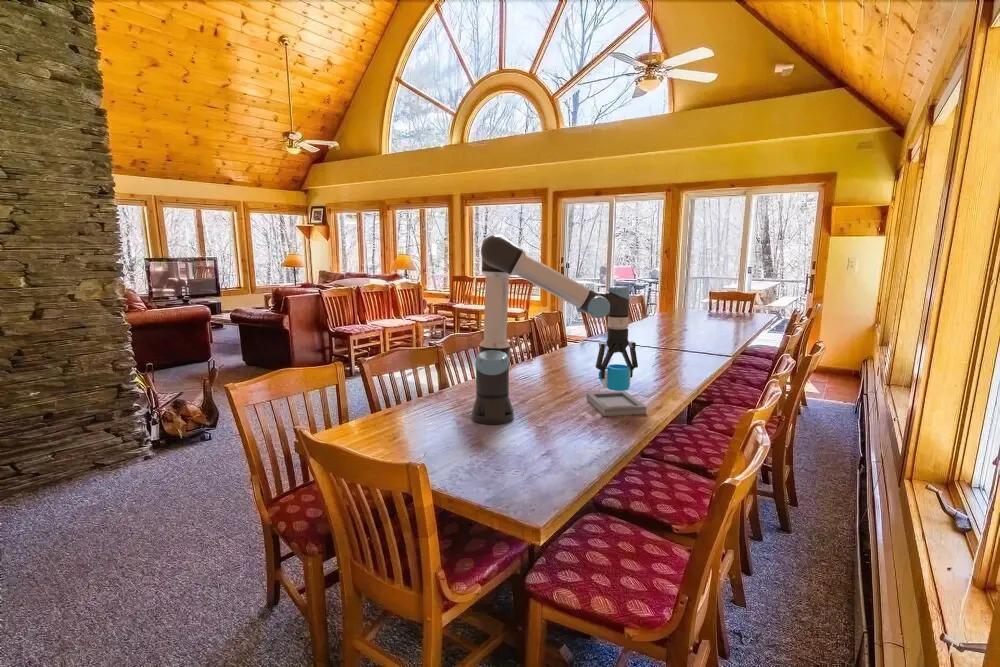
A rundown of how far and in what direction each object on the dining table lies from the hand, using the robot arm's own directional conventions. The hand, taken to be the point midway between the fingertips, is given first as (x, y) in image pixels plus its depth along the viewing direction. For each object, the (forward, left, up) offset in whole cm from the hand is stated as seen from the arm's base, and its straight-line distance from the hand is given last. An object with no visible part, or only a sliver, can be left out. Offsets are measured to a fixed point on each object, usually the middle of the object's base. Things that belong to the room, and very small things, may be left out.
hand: (616, 386), depth 188 cm
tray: (0, 0, -8) cm, 8 cm away
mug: (-1, 0, 0) cm, 1 cm away
